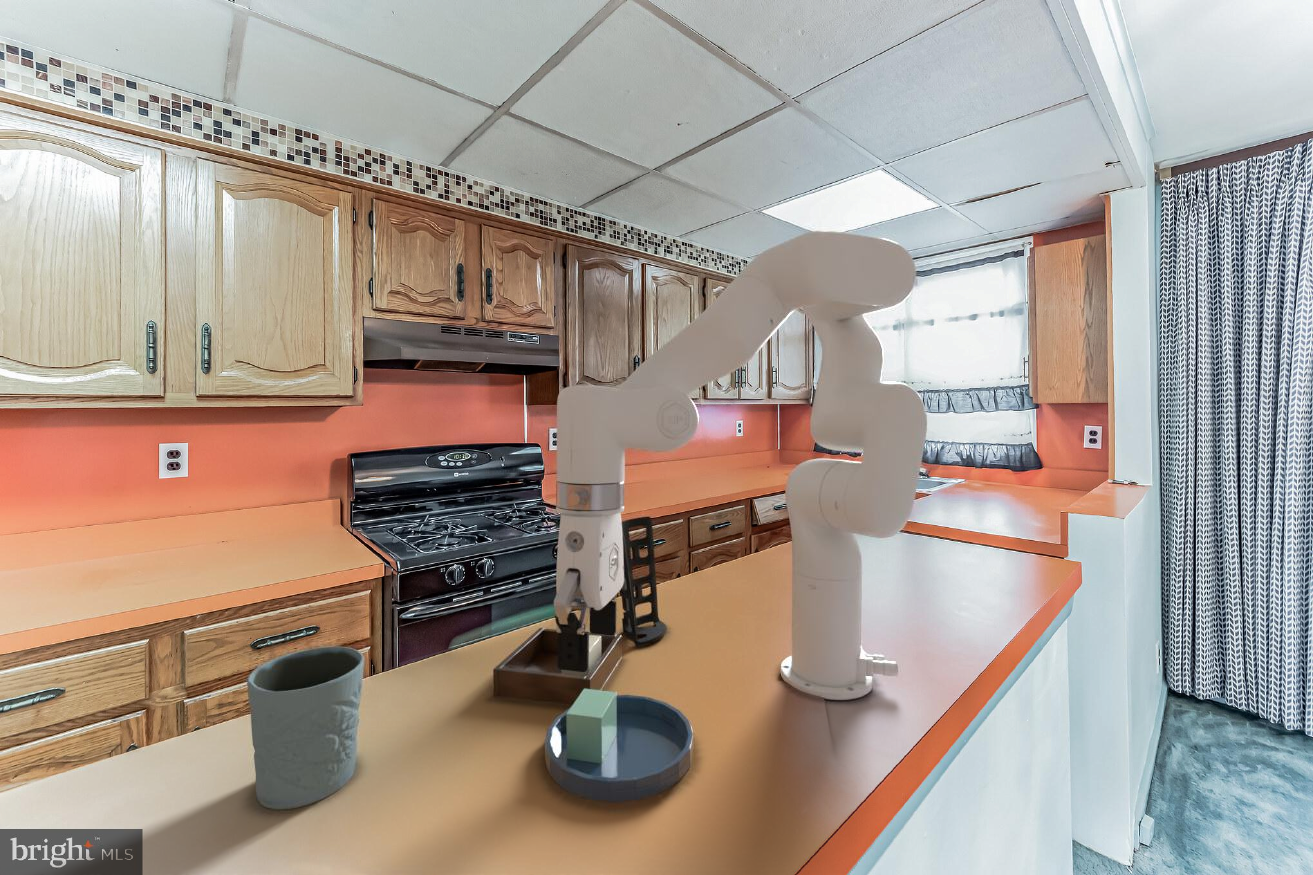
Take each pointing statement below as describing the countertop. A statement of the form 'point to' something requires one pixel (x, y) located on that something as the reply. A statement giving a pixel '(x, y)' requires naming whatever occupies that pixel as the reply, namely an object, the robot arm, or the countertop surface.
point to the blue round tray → (627, 753)
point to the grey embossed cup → (305, 724)
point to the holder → (639, 585)
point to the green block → (591, 725)
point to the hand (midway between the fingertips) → (589, 650)
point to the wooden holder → (551, 670)
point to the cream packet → (593, 655)
